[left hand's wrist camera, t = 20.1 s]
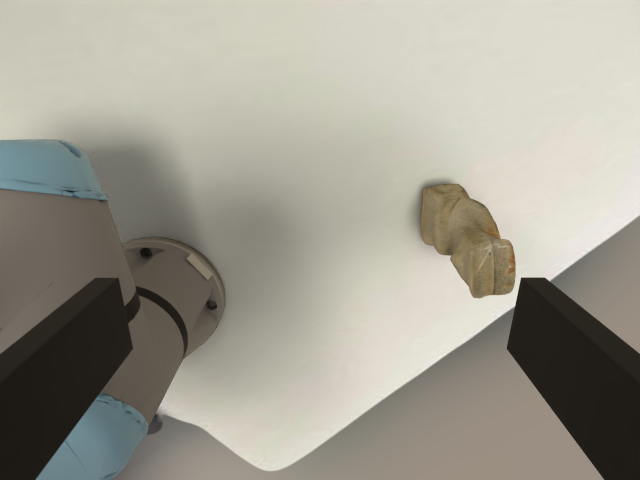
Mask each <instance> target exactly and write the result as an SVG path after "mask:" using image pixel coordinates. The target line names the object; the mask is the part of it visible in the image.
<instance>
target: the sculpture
mask: <svg viewBox="0 0 640 480" xmlns="http://www.w3.org/2000/svg"><path fill="white" fill-rule="evenodd" d="M422 197H423V205H422V211H421V232H422V240H423V241H424V243H425V244H428V245H434V246H435V248H436V250H437V252H438V253H439V254H442V255H451V257H450V259H451V262H452V264H453V265H454V267H455V268H456V270H457V271H458V273H459V275H460V276H461V278H462V279H463V280H464V281H465V282H466V284H467V285H468V286H469V289H470V292H471V294H472V296H473V297H474V298H482V297H485V296H487V295H505V294H508V293H510V292H511V291H512V290H513V287H514V283H515V256H514V251H513V247H512V244H511V242H510V241H509V240H506V239H500V234H499V231H498V228H497V225H496V223H495V221H494V220H493V218H492V216H491V214H490V212H489V210H488V209H487V208H486V207H485V206H484V205H483V204H481V203H480V202H478V201H475V200H473V199H470V198H469V196H468V194H467V192H466V191H465V189H464V188H463V187H462V186H461V185H459V184H445V185H438V186H434V187H431V188H427V189H424V190H423V194H422Z"/></svg>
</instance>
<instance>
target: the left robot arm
mask: <svg viewBox="0 0 640 480" xmlns="http://www.w3.org/2000/svg"><path fill="white" fill-rule="evenodd" d="M107 201H108V196H107V195H106V194H105V193H103V191H102V188H101V186H100V184H99V181H98V179H97V177H96V174H95V172H94V169H93V166H92V164H91V161H90V159H89V158H88V156H87V155H86V153H85V152H84V151H83V150H82V149H80V148H79V147H77V146H76V145H74V144H72V143H69V142H66V141H61V140H0V480H110V479H112V478H113V477H115V476H116V475H117V474H118V473H119V472H120V471H121V470H122V469H123V468H124V466H125V465H126V464H127V462H128V461H129V459H130V457H131V456H132V454H133V452H134V451H135V449H136V447H137V446H138V444H139V443H140V442H141V441H142V440H144V438H145V437H146V435H147V432H148V427H149V425H150V423H151V421H152V419H153V417H154V415H155V413H156V411H157V409H158V407H159V405H160V403H161V401H162V400H163V398H164V396H165V394H166V392H167V390H168V388H169V386H170V384H171V382H172V380H173V378H174V376H175V374H176V372H177V370H178V368H179V366H180V364H181V362H182V360H183V359H184V358H185V357H186V356H188V355H189V354H190V353H191V352H193V351H194V350H195V349H197V348H198V347H199V346H201V345H202V344H203V343H204V342H205V341H206V340H207V339H208V338H209V337H210V336H211V335H212V333H213V332H214V331H215V329H216V327H217V326H218V323H219V321H220V319H221V317H222V314H223V311H224V305H225V294H224V289H223V285H222V282H221V279H220V277H219V275H218V273H217V272H216V270H215V269H214V267H213V266H212V265H211V263H210V262H209V261H208V260H207V259H206V258H205V257H204V256H203V255H201V254H200V253H199V252H197V251H196V250H194V249H193V248H191V247H189V246H187V245H185V244H183V243H181V242H178V241H175V240H171V239H167V238H158V237H149V238H141V239H137V240H134V241H131V242H129V243H126V244H124V245H123V246H121V243H120V240H119V237H118V234H117V231H116V228H115V224H114V221H113V218H112V215H111V212H110V209H109V206H108V203H107ZM507 350H508V351H509V352H510V354H511V355H512V356H513V358H514V359H515V360H516V361H517V363H518V364H519V366H520V367H521V368H522V370H523V371H524V372H525V374H526V375H527V376H528V378H529V379H530V380H531V382H532V383H533V384H534V386H535V387H536V388H537V390H538V391H539V392H540V394H541V395H542V397H543V398H544V399H545V401H546V402H547V403H548V405H549V406H550V407H551V409H552V410H553V411H554V413H555V414H556V415H557V417H558V418H559V419H560V421H561V422H562V423H563V425H564V426H565V427H566V429H567V430H568V431H569V433H570V434H571V435H572V437H573V438H574V440H575V441H576V442H577V444H578V445H579V446H580V448H581V449H582V450H583V452H584V453H585V454H586V456H587V457H588V458H589V460H590V461H591V462H592V464H593V465H594V466H595V468H596V469H597V470H598V472H599V473H600V474H601V476H602V477H603V478H604V480H640V354H639V353H638V352H637V351H635V350H634V349H633V348H632V347H631V346H629V345H628V344H627V343H626V342H624V341H623V340H622V339H620V338H619V337H618V336H617V335H616V334H614V333H613V332H612V331H611V330H609V329H608V328H607V327H605V326H604V325H603V324H602V323H601V322H599V321H598V320H597V319H596V318H594V317H593V316H592V315H591V314H589V313H588V312H587V311H586V310H584V309H583V308H582V307H581V306H579V305H578V304H577V303H576V302H574V301H573V300H572V299H571V298H569V297H568V296H567V295H566V294H564V293H563V292H562V291H561V290H559V289H558V288H557V287H556V286H554V285H553V284H552V283H551V282H549V281H548V280H547V279H546V278H521V281H520V286H519V291H518V296H517V301H516V306H515V311H514V315H513V320H512V325H511V330H510V335H509V340H508V345H507Z"/></svg>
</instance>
